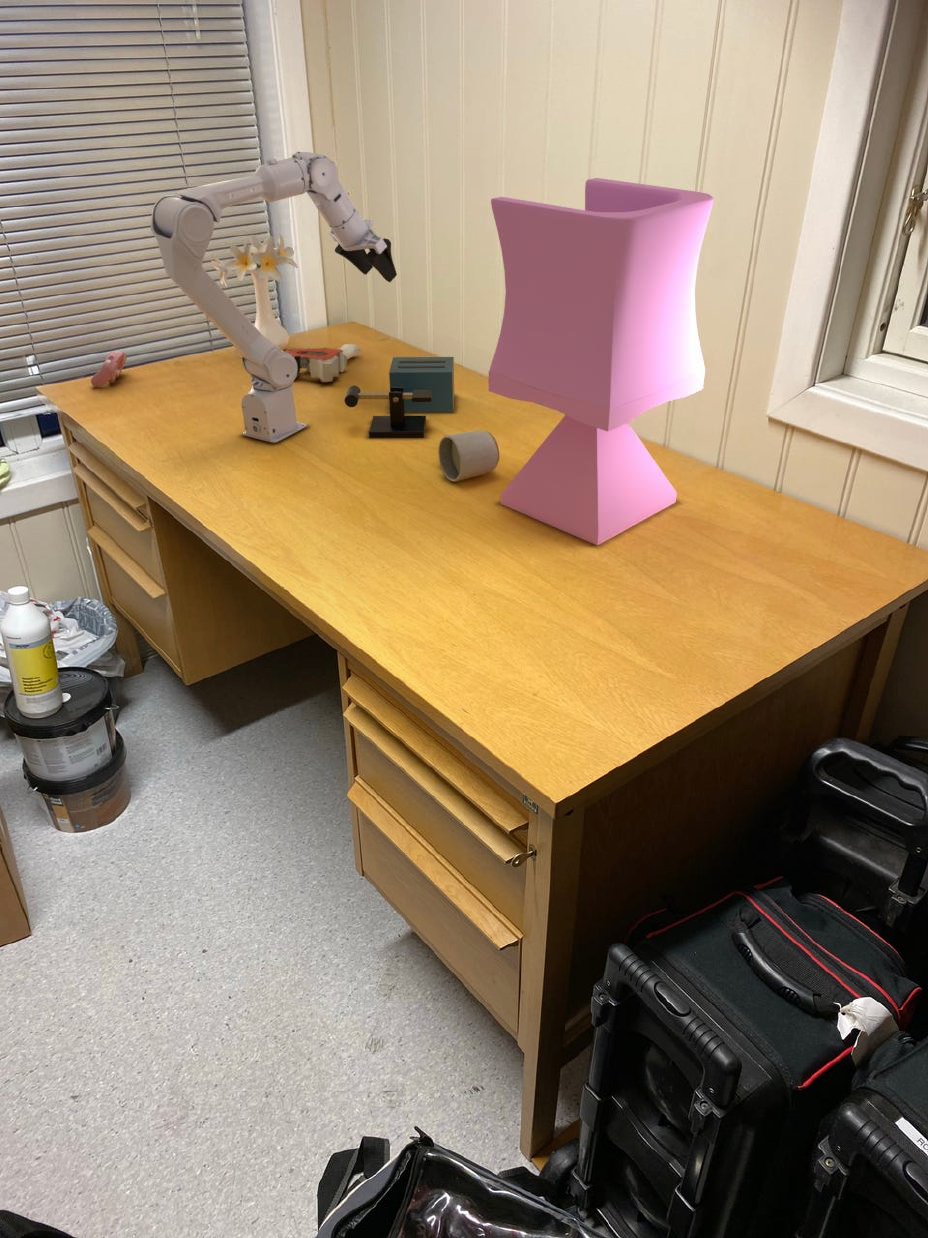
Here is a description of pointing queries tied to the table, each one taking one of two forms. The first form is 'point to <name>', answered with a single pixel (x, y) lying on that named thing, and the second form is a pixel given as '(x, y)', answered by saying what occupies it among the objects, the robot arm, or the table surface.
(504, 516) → the table surface
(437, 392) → the toaster
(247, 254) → the flower vase
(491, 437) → the ceramic mug
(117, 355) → the pink lumpy figure
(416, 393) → the lever
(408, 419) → the bracket
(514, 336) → the pink tall piece
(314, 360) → the red grey lobed slab
